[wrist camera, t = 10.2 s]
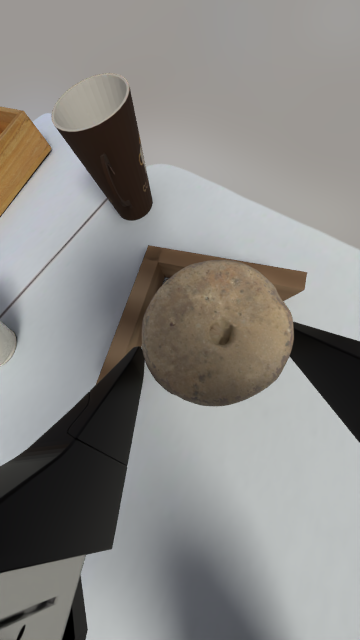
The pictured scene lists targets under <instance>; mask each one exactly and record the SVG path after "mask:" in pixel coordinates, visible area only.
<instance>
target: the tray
mask: <svg viewBox="0 0 360 640" xmlns="http://www.w3.org/2000/svg"><path fill="white" fill-rule="evenodd" d="M50 150H51V147H50V146H49V144H48V143H47V141H46V140H45V138H44V137H43V136H42V134H41V133H40V132H39V130H38V129H37V128H36V126H35V125H34V124H33V122H32V121H31V120H30V119H29V117H28V116H27V115H26V113H25V112H24V111H21V110H16V109H10V108H5V107H0V216H1V215H2V214H3V212H4V211H5V210H6V208H7V207H8V205H9V204H10V203H11V201H12V200H13V199H14V198H15V196H16V195H17V194H18V192H19V191H20V190H21V188H22V187H23V186H24V184H25V183H26V182H27V180H28V179H29V178H30V176H31V175H32V174H33V173H34V171H35V170H36V169H37V167H38V166H39V165H40V163H41V162H42V161H43V160H44V158H45V157H46V156H47V154H48V153H49V152H50Z"/></svg>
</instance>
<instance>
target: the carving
mask: <svg viewBox="0 0 360 640" xmlns="http://www.w3.org/2000/svg"><path fill="white" fill-rule="evenodd" d="M293 340H294V330H293V319H292V315H291V312H290V310H289V309H288V307H287V306H286V305H285V303H284V302H283V301H282V299H281V297H280V296H279V294H278V293H277V290H276V288H275V287H274V285H273V284H272V283H271V282H270V281H269V280H268V279H267V278H266V277H264V276H263V275H262V274H261V273H260V272H259V271H257V270H256V269H254V268H252V267H250V266H248V265H246V264H244V263H241V262H237V261H232V260H211V261H205V262H200V263H195V264H192V265H189V266H186V267H185V268H183V269H181V270H180V271H178V272H177V273H175V274H174V275H173V276H172V277H170V278H169V279H168V280H167V281H166V282H165V283H164V284H163V285H162V286H161V287H160V288H159V290H158V291H157V293H156V294H155V295H154V297H153V298H152V300H151V302H150V304H149V306H148V308H147V310H146V312H145V315H144V318H143V322H142V348H143V355H144V358H145V361H146V364H147V366H148V369H149V370H150V372H151V374H152V375H153V377H154V378H155V380H156V381H157V382H158V383H159V384H160V385H161V386H162V387H163V388H164V389H165V390H167V391H168V392H170V393H171V394H174V395H177V396H178V397H180V398H182V399H184V400H186V401H189V402H192V403H195V404H199V405H203V406H225V405H230V404H234V403H237V402H240V401H243V400H245V399H248V398H250V397H252V396H254V395H256V394H257V393H259V392H261V391H262V390H264V389H265V388H267V387H268V386H270V385H271V384H272V383H273V382H274V381H275V380H276V379H277V378H278V377H279V375H280V374H281V372H282V370H283V368H284V366H285V364H286V362H287V360H288V358H289V356H290V353H291V350H292V345H293Z"/></svg>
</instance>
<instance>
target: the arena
mask: <svg viewBox="0 0 360 640" xmlns="http://www.w3.org/2000/svg"><path fill="white" fill-rule="evenodd" d="M211 260H231V259H226V258H220V257H214V256H208V255H202V254H196V253H190V252H184V251H179V250H173V249H167V248H161V247H155V246H149V245H148V248H147V251H146V253H145V256H144V258H143V261H142V264H141V266H140V269H139V272H138V274H137V277H136V280H135V282H134V285H133V288H132V290H131V293H130V296H129V298H128V301H127V303H126V306H125V309H124V311H123V314H122V317H121V319H120V322H119V325H118V327H117V330H116V333H115V335H114V338H113V341H112V343H111V346H110V348H109V351H108V354H107V356H106V359H105V362H104V364H103V367H102V370H101V372H100V375H99V378H98V380H97V383H98V382H99V381H100V380H101V379H102V378H103V377H104V376H105V375H106V374H107V373H108V372H109V371H110V370H111V369H112V368H113V367H114V366H115V365H116V364H117V363H118V362H119V361H120V360H121V359H122V358H123V357H124V356H125V355H126V354H127V353H128V352H129V351H130V350H131V349H132V348H133V347H137V346H140V347H141V346H142V322H143V318H144V315H145V312H146V310H147V308H148V306H149V304H150V302H151V300H152V298H153V297H154V295H155V294H156V293H157V291H158V290H159V288H160V287H161V286H162V284H163V281H164V278H165V277H168V278H170V277H172V276H173V275H174V274H175V273H177V272H178V271H180V270H181V269H183V268H185V267H186V266H189V265H192V264H195V263H200V262H205V261H211ZM232 261H237V260H232ZM237 262H241V263H244V264H246V265H248V266H250V267H252V268H254V269H256V270H257V271H259V272H260V273H261V274H262V275H263V276H264V277H266V278H267V279H268V280H269V281H270V282H271V283H272V284H273V285H274V287H275V288H276V290H277V293H278V294H279V296H280V297H281V299H282V301H284V300H286V299H288V298H290V297H292V296H294V295H296V294H298V293H300V292H302V291H303V290H304V289H305V282H306V276H307V272H302V271H296V270H290V269H284V268H278V267H273V266H267V265H261V264H255V263H249V262H243V261H237ZM97 383H96V384H97Z"/></svg>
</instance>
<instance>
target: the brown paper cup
mask: <svg viewBox="0 0 360 640" xmlns="http://www.w3.org/2000/svg"><path fill="white" fill-rule="evenodd" d="M52 122H53V124H54V125H55V127H56V128H57V130H58V131H59V132H60V134H61V135H62V136H63V138H64V139H65V140H66V142H67V143H68V145H69V146H70V147H71V149H72V150H73V151H74V153H75V154H76V156H77V157H78V158H79V160H80V161H81V162H82V164H83V165H84V167H85V168H86V169H87V171H88V172H89V173H90V175H91V176H92V178H93V179H94V180H95V182H96V183H97V184H98V186H99V187H100V188H101V190H102V191H103V193H104V194H105V195H106V197H107V198H108V199H109V201H110V202H111V204H112V205H113V206H114V208H115V209H116V210H117V212H118V213H119V215H120V216H121V217H122V218H124V219H126V220H137V219H140V218H142V217H144V216H145V215H146V214H147V213H148V212H149V211H150V209H151V207H152V203H153V202H152V196H151V191H150V186H149V181H148V176H147V171H146V166H145V161H144V156H143V152H142V146H141V141H140V137H139V131H138V127H137V121H136V116H135V112H134V107H133V102H132V97H131V92H130V87H129V84H128V81H127V80H126V79H125V78H124V77H122V76H121V75H118V74H111V73H108V74H99V75H95V76H92V77H90V78H87V79H85V80H83V81H81V82H79V83H77V84H75V85H74V86H72V87H71V88H70V89H69V90H67V91H66V92H65V93H64V94H63V95H62V96H61V97H60V98H59V100H58V101H57V103H56V104H55V106H54V108H53V111H52Z"/></svg>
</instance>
